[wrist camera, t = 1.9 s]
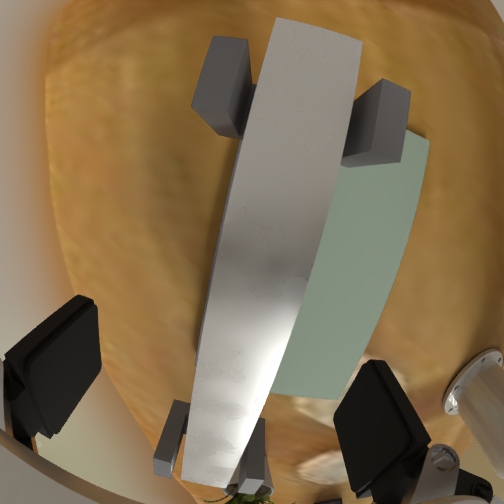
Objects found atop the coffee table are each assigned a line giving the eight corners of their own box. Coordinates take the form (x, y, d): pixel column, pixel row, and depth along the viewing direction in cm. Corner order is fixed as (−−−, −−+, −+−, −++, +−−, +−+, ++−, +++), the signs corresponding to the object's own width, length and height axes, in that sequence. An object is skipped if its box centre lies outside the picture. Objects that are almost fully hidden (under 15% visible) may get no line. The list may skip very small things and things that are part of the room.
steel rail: (340, 70, 9) (362, 41, 6) (229, 456, 15) (225, 488, 13) (273, 52, 9) (276, 17, 6) (188, 447, 15) (180, 479, 12)
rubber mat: (426, 141, 20) (429, 141, 20) (336, 396, 28) (337, 400, 27) (342, 106, 20) (344, 104, 19) (262, 387, 27) (262, 391, 27)
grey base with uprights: (320, 126, 21) (413, 48, 6) (254, 369, 27) (247, 502, 12) (249, 109, 20) (229, -5, 5) (197, 356, 26) (155, 484, 11)
